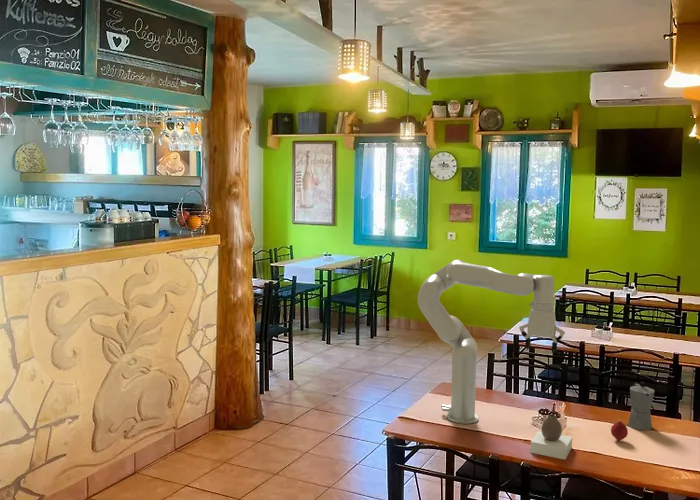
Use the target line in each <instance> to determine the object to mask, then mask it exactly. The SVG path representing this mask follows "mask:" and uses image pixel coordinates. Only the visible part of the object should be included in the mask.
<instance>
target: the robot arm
mask: <svg viewBox="0 0 700 500" xmlns="http://www.w3.org/2000/svg"><path fill="white" fill-rule="evenodd" d="M456 284H459V285H465V286H471V287H477V288H481V289H482V288H483V289H487V290H491V291H496V292H499V293H504V294H507V295H508V294H510V295H515V296H528V295H530V294H532V292H533V297H532V302H529V304H528V305H529V307H531V309H530V310H529V315H528V321H527V323H525V324H523V325H520V326H519V328H518V329H519V331H520V333H521V335H522V336H523V338H524V339H525V343H524V344H525V347H526V350H529V349H531V340H532V338H531V336H533V337H539V338H540V337H541V338H547V339H549V338H550V339H551V340H552V343H551V353H553V354H554V353H555V352H556V351H557V349H558V342H559V341H561V339H562V338H563V337H564V336H565V334H566V332H565V331H564V330H563V329H562V328H560V327H559V326H557V323H556V322H557V321H556V313H555V310H554V294H555V277H554V276H553V275H550V274H532V273H525V272H521V273H518V274H512V273H511V274H510V273H506V272H503V271H500V270H497V269H495V268H493V267H492V266H491V267H490V266H486V265H479V264H473V263H468V262H465V261H463V260H461V259H454V260H452V261H450V262H449V263H447V265H444V266H443V267H442V268H440V269H439V270H437V271H435V272H434V273H433V274H431V275H429V276H428V277H427V278H425V280H424V281H423V283H422V284H421V285H420V288H419V291H418V294H417V305H418V307H419V310H420V311H421V313H422V315H423V316H424V317H425V319H426V320H427V321H428V324H429V325H430V326H431V327H432V329H433V330H434V332H435V333H436V335H437V336H438V338H439V339H440V340H441V341H442V342H444V343H445V344H449V345H450V347H451V348H452V354H451V394H450V395H451V396H450V397H451V398H450V404H449V405H448V404H444V403H443V404H441V410H442V411H443V412H447V414H446V419H447V420H449V421H450V422H452V423H455V424H456V423H457V424H463V425H464V424H465V425H467V424H475V423H477V422H478V421H479V416H478V414H477V413H476V412H475V411H476V389H477V388H476V383H477V380H476V379H477V360H478V359H477V358H478V349H479V348H478V344H477V341H476V340H475V339H474V337H473V336H472V335H471V333H470V332H469V330H468V329H467V328H466V327H465V325H464V324H463V323H462V321H461V320H460V319H459V318H458V317H457V316H454V315H450V313H449V312H448V311H447V309H446V307H444V305H443V303H441V301H440V297H441V296H442V294H443V293H444V292H445V291H446V290H449V289H450V288H451V287H453V286H455V285H456ZM525 329H526V330H527V332H526V331H525ZM556 332H557V333H559V335H558V337H557V336H556V334H557V333H556Z"/></svg>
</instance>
